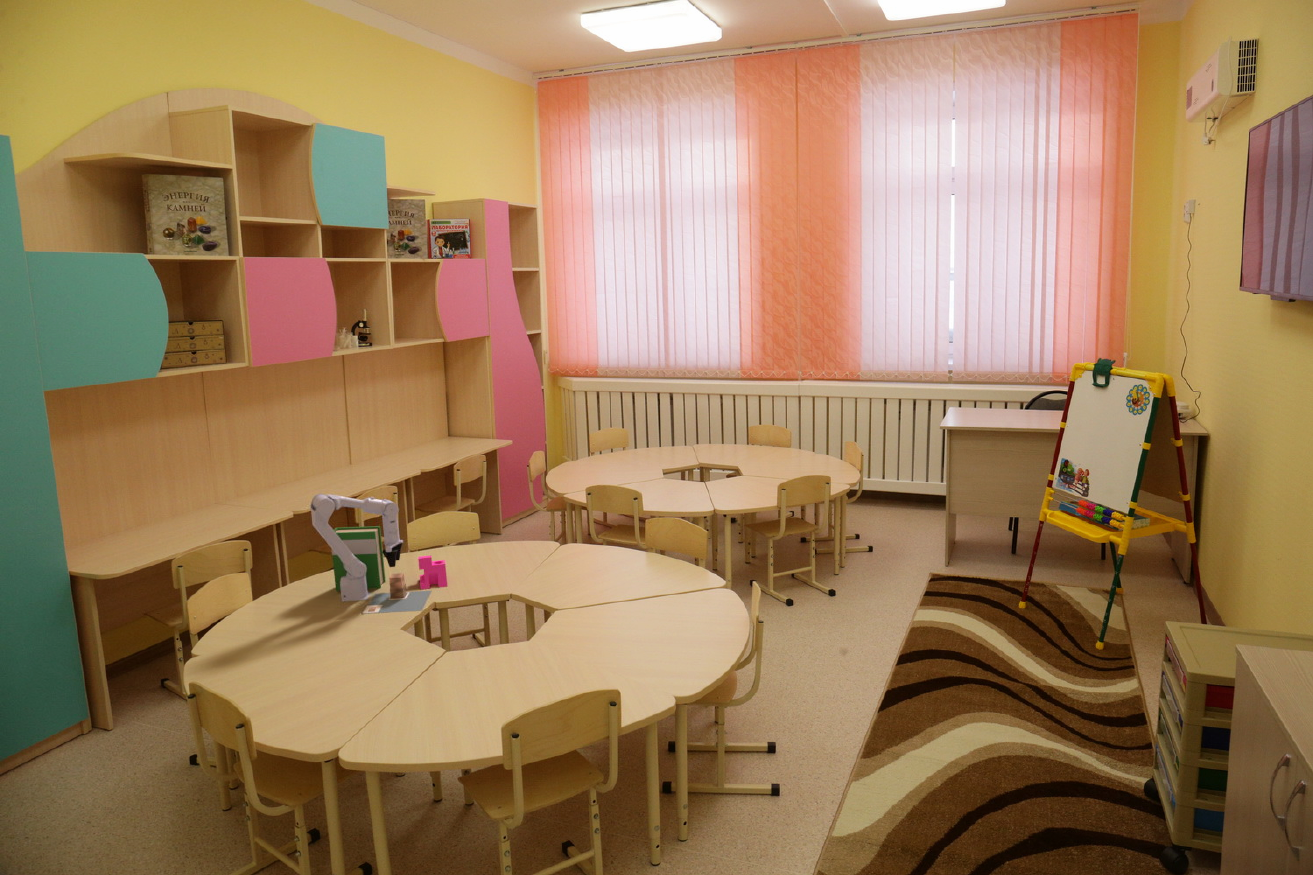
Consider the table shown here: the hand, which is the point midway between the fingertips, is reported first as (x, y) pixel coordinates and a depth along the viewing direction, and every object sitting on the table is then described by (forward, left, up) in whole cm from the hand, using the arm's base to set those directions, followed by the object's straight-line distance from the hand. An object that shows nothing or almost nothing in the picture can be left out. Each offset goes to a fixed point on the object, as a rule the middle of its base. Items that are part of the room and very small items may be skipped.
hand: (394, 563), depth 353 cm
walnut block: (+3, -10, -10) cm, 14 cm away
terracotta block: (+3, -10, -6) cm, 12 cm away
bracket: (+14, +3, -11) cm, 18 cm away
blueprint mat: (+4, -16, -10) cm, 20 cm away
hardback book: (-15, +4, -11) cm, 19 cm away
